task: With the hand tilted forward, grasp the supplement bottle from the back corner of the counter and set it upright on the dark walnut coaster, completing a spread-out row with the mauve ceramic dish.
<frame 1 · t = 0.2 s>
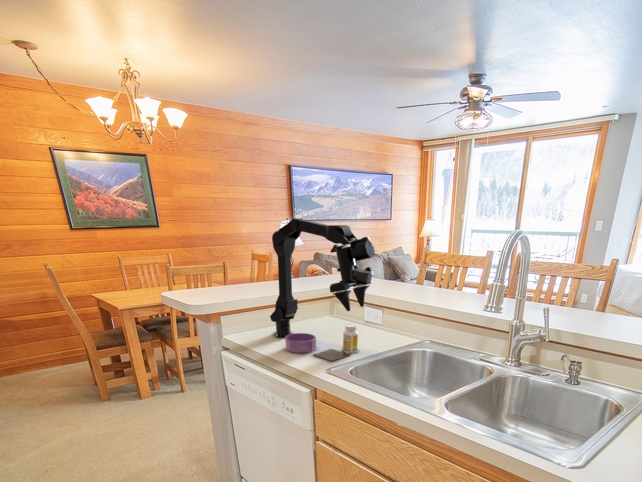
hand: (355, 308, 146), 15 cm above the table, tool tilted 15°, fingers open, 9 cm apart
coaster: (331, 355, 146), on the table
supplement bottle: (350, 351, 151), on the table
dish: (300, 349, 152), on the table
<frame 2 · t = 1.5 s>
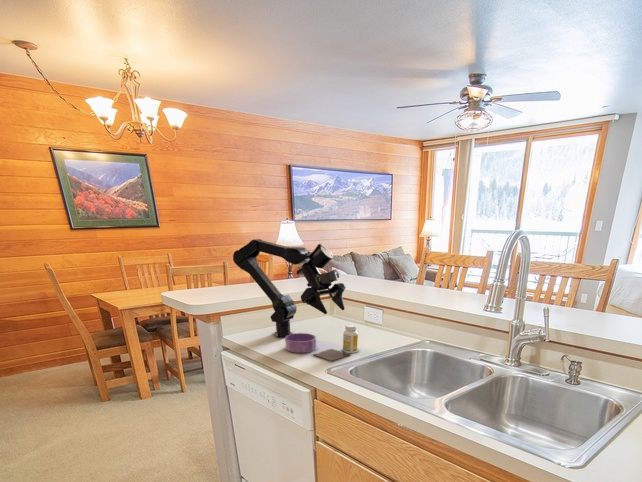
hand: (335, 311, 150), 13 cm above the table, tool tilted 45°, fingers open, 9 cm apart
nothing on the table moved.
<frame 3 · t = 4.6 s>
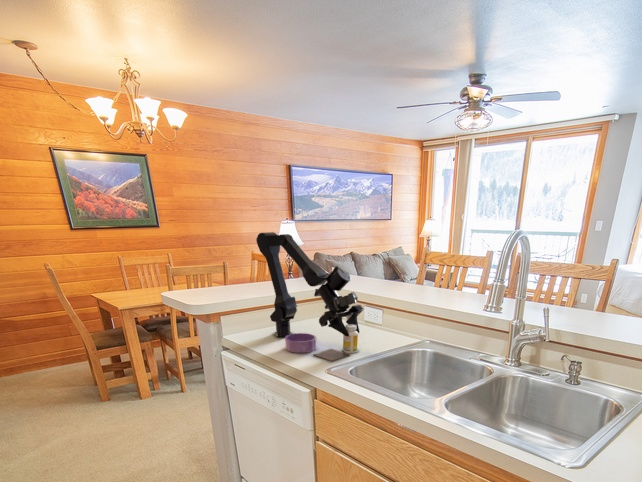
hand: (353, 334, 148), 7 cm above the table, tool tilted 45°, fingers closed on supplement bottle, 5 cm apart
supplement bottle: (350, 351, 151), on the table, touching gripper
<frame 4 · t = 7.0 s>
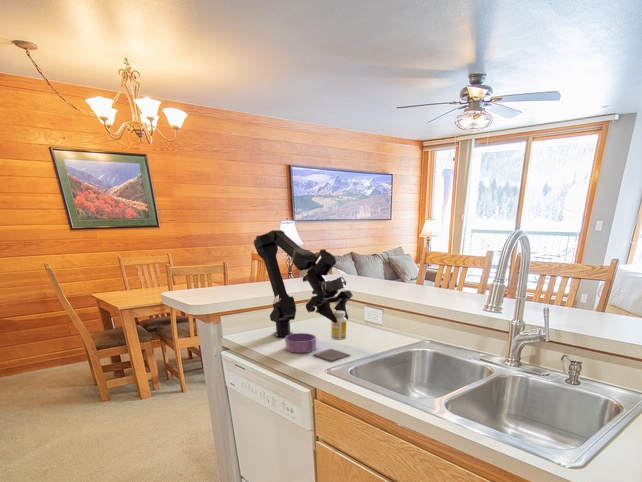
hand: (341, 321, 142), 12 cm above the table, tool tilted 45°, fingers closed on supplement bottle, 5 cm apart
supplement bottle: (338, 339, 146), point 5 cm above the table, touching gripper
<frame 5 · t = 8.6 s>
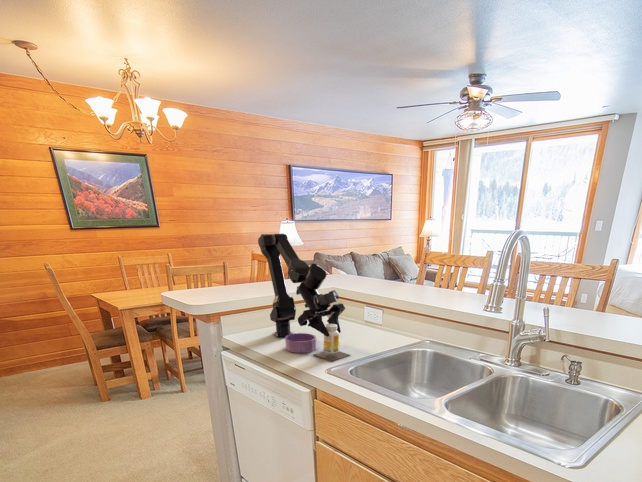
hand: (334, 334, 142), 8 cm above the table, tool tilted 45°, fingers closed on supplement bottle, 5 cm apart
supplement bottle: (331, 352, 146), point 1 cm above the table, touching gripper
when the fingers open (7 cm above the table, at t = 9.4 s): supplement bottle stays where it is, resting on coaster.
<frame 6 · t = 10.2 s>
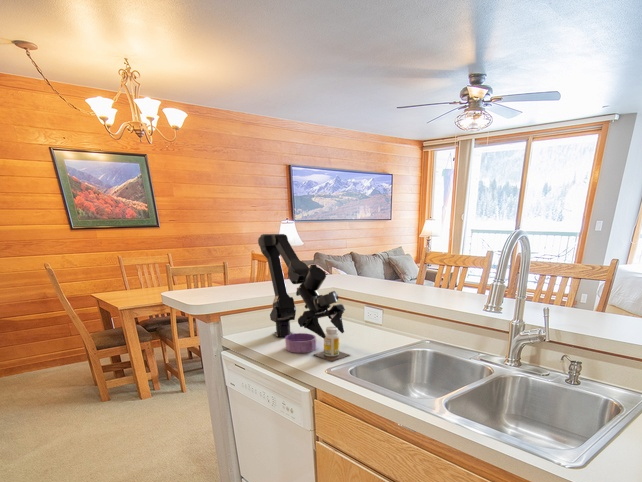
hand: (334, 335, 142), 8 cm above the table, tool tilted 45°, fingers open, 9 cm apart
supplement bottle: (331, 355, 146), resting on coaster
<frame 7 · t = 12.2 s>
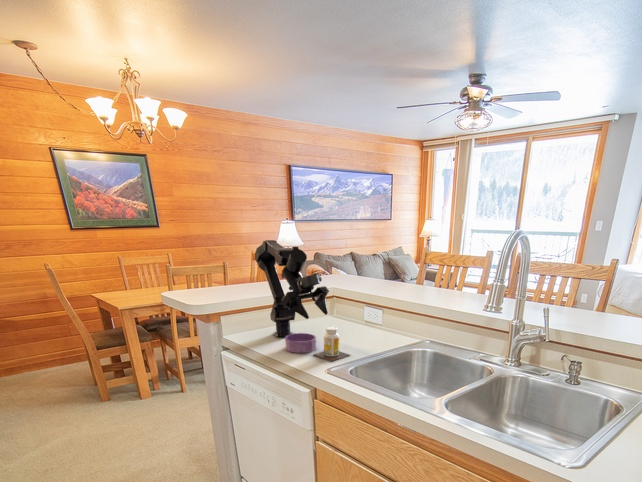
hand: (317, 316, 145), 13 cm above the table, tool tilted 45°, fingers open, 9 cm apart
nothing on the table moved.
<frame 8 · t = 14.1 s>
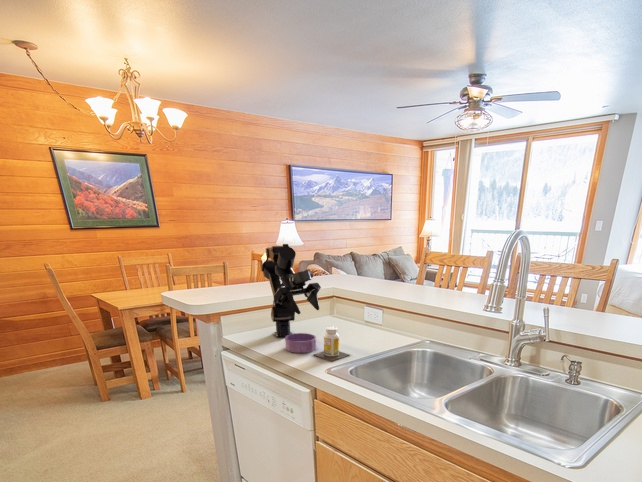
hand: (309, 311, 148), 14 cm above the table, tool tilted 45°, fingers open, 9 cm apart
nothing on the table moved.
at the end: supplement bottle 0.2 cm off-centre on the coaster, point 0.1 cm above the coaster's base; supplement bottle tilted 0°; the gripper is holding nothing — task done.
